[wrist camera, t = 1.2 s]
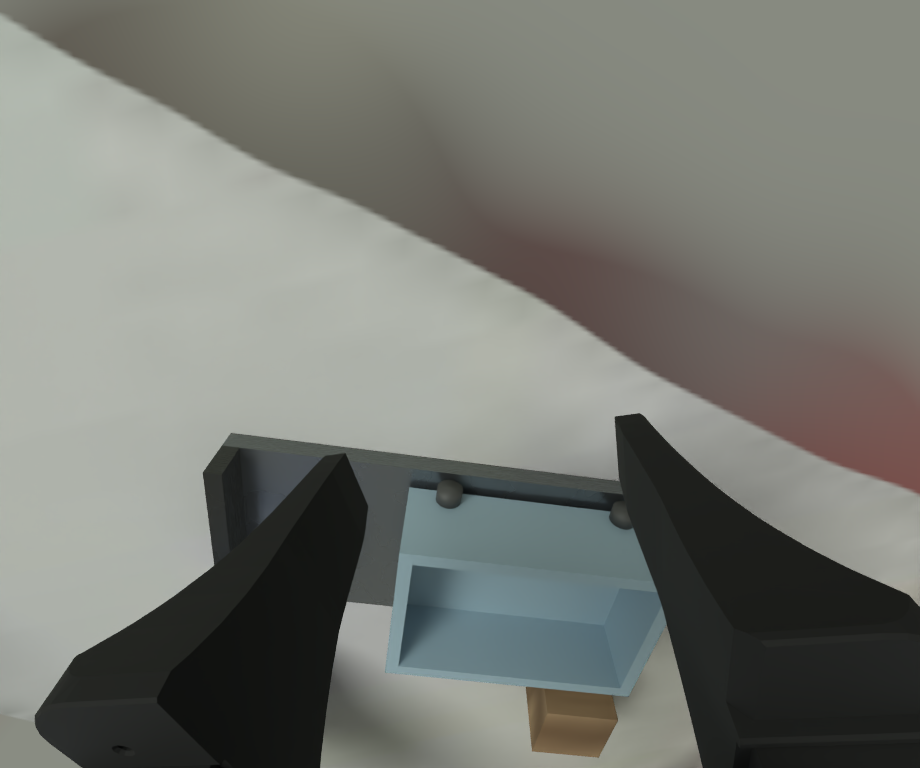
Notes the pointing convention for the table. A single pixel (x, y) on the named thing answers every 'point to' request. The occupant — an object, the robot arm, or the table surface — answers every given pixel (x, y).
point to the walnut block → (570, 721)
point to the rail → (368, 496)
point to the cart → (521, 594)
